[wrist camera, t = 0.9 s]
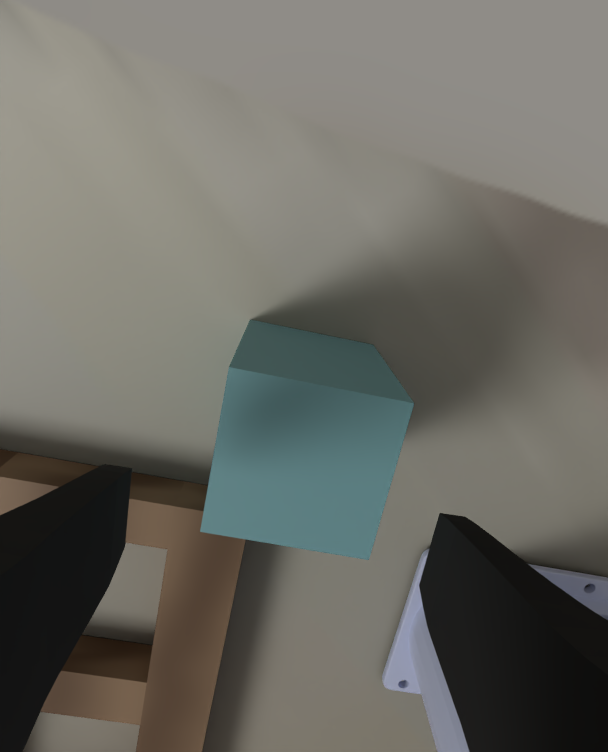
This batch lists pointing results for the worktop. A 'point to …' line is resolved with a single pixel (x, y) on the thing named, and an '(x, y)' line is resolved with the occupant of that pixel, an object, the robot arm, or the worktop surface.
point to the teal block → (305, 442)
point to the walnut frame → (174, 620)
